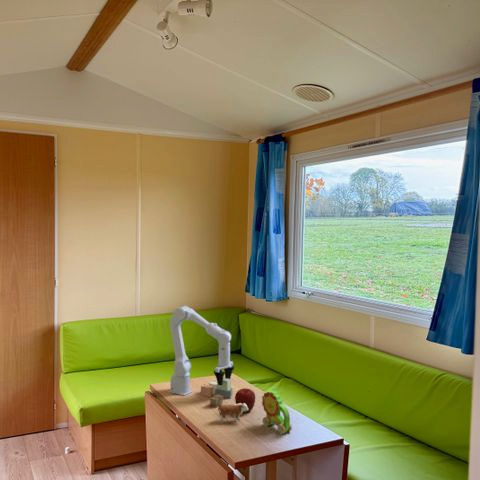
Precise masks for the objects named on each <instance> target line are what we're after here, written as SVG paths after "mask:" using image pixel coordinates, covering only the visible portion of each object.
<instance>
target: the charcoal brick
mask: <svg viewBox="0 0 480 480" xmlns="http://www.w3.org/2000/svg"><path fill="white" fill-rule="evenodd" d="M215 395H221V396H223V399H229V400H230V399H232V396H233V387H231V389H230V390H228V391H225V390H220V389H217V388H216V389H215V392H214V396H215Z"/></svg>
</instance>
